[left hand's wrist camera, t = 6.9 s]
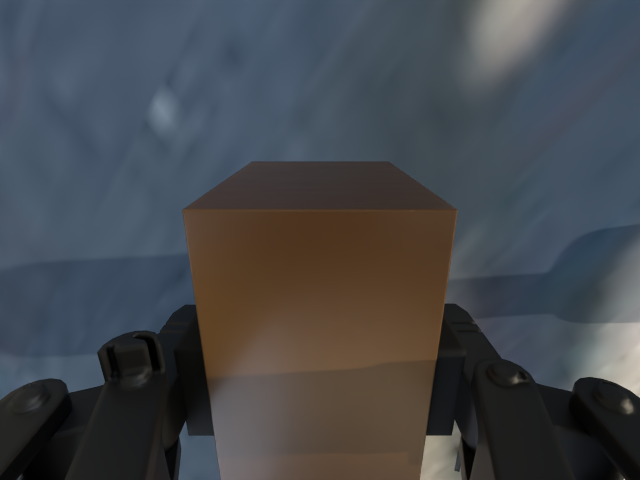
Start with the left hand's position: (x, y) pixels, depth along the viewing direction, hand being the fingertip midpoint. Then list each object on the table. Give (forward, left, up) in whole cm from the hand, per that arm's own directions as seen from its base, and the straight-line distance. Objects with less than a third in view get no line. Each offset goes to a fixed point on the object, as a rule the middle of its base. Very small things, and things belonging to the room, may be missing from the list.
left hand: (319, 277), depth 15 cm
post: (+27, +19, -1) cm, 33 cm away
